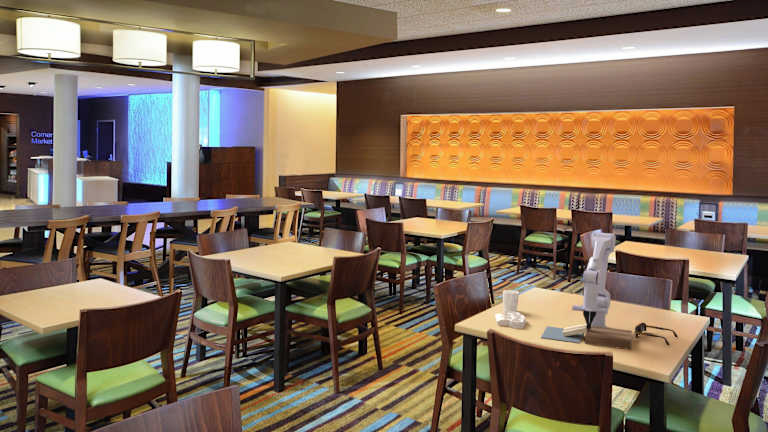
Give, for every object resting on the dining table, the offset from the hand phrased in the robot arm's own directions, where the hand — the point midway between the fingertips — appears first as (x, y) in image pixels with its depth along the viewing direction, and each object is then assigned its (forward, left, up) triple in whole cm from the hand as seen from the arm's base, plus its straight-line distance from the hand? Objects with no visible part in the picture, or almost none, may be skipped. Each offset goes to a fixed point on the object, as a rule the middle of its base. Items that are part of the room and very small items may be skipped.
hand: (588, 328), depth 262 cm
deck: (0, +8, -4) cm, 9 cm away
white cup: (-29, -40, -5) cm, 49 cm away
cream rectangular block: (0, -5, -2) cm, 6 cm away
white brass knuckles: (-9, -35, -5) cm, 36 cm away
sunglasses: (-14, +27, -5) cm, 30 cm away
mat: (0, -11, -4) cm, 12 cm away
